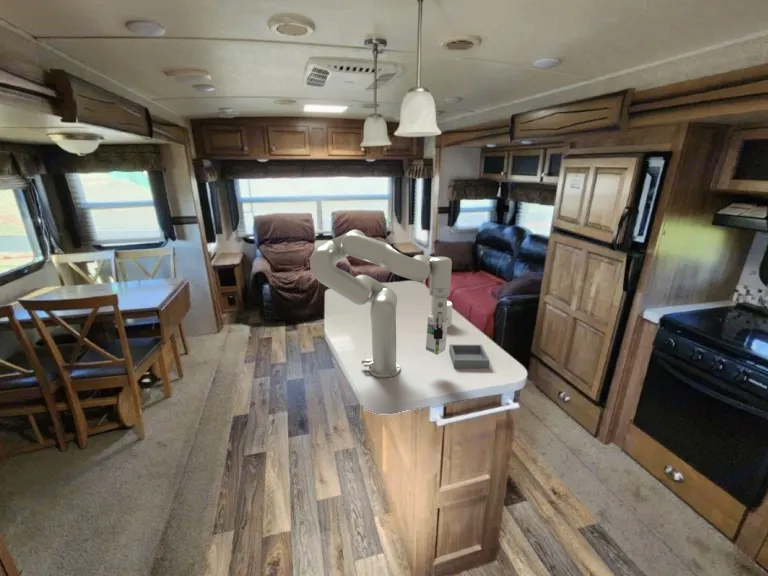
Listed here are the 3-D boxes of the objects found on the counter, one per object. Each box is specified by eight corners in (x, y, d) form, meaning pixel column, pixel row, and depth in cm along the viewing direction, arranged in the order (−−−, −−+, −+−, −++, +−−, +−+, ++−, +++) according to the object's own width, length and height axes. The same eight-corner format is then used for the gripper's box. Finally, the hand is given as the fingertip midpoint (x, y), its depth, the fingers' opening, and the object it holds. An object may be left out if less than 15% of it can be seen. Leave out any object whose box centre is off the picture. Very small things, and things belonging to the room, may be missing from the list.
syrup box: (425, 350, 136) (427, 315, 132) (434, 345, 140) (436, 311, 136) (436, 355, 132) (439, 320, 128) (446, 350, 136) (448, 315, 132)
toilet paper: (441, 319, 191) (441, 298, 188) (455, 324, 183) (456, 303, 180) (427, 323, 185) (428, 302, 182) (441, 329, 177) (442, 307, 174)
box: (453, 368, 141) (454, 360, 140) (449, 351, 155) (449, 344, 154) (488, 368, 141) (489, 360, 140) (481, 352, 154) (481, 344, 153)
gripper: (453, 298, 120) (449, 344, 126) (446, 283, 137) (443, 325, 142) (431, 297, 121) (428, 343, 126) (427, 283, 137) (425, 324, 142)
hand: (436, 333), depth 134 cm, fingers closed on syrup box, 8 cm apart
